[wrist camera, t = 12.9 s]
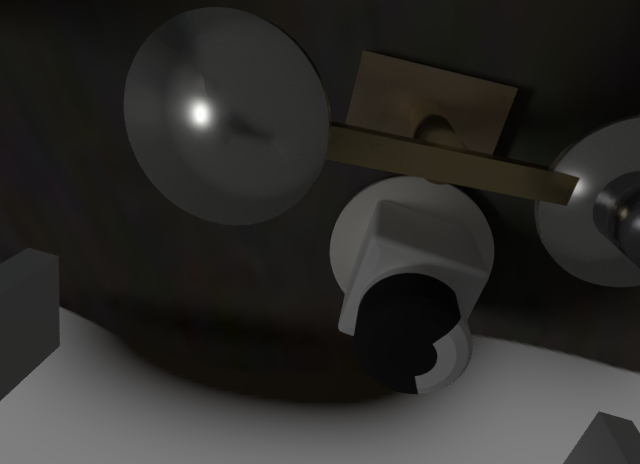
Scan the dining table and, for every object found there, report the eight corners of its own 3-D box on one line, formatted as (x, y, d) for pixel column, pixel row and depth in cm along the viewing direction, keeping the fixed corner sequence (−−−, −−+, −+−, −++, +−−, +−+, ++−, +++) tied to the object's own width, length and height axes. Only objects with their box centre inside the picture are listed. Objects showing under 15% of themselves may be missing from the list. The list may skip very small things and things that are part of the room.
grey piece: (347, 279, 35) (324, 384, 24) (377, 197, 32) (366, 273, 21) (435, 309, 35) (451, 429, 24) (473, 229, 32) (512, 323, 21)
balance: (259, 123, 33) (119, 196, 16) (276, 20, 30) (128, -17, 14) (565, 203, 31) (747, 370, 15) (613, 102, 28) (902, 172, 12)
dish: (317, 293, 37) (314, 300, 36) (353, 155, 32) (351, 158, 31) (458, 333, 36) (460, 342, 35) (516, 198, 32) (521, 203, 31)
